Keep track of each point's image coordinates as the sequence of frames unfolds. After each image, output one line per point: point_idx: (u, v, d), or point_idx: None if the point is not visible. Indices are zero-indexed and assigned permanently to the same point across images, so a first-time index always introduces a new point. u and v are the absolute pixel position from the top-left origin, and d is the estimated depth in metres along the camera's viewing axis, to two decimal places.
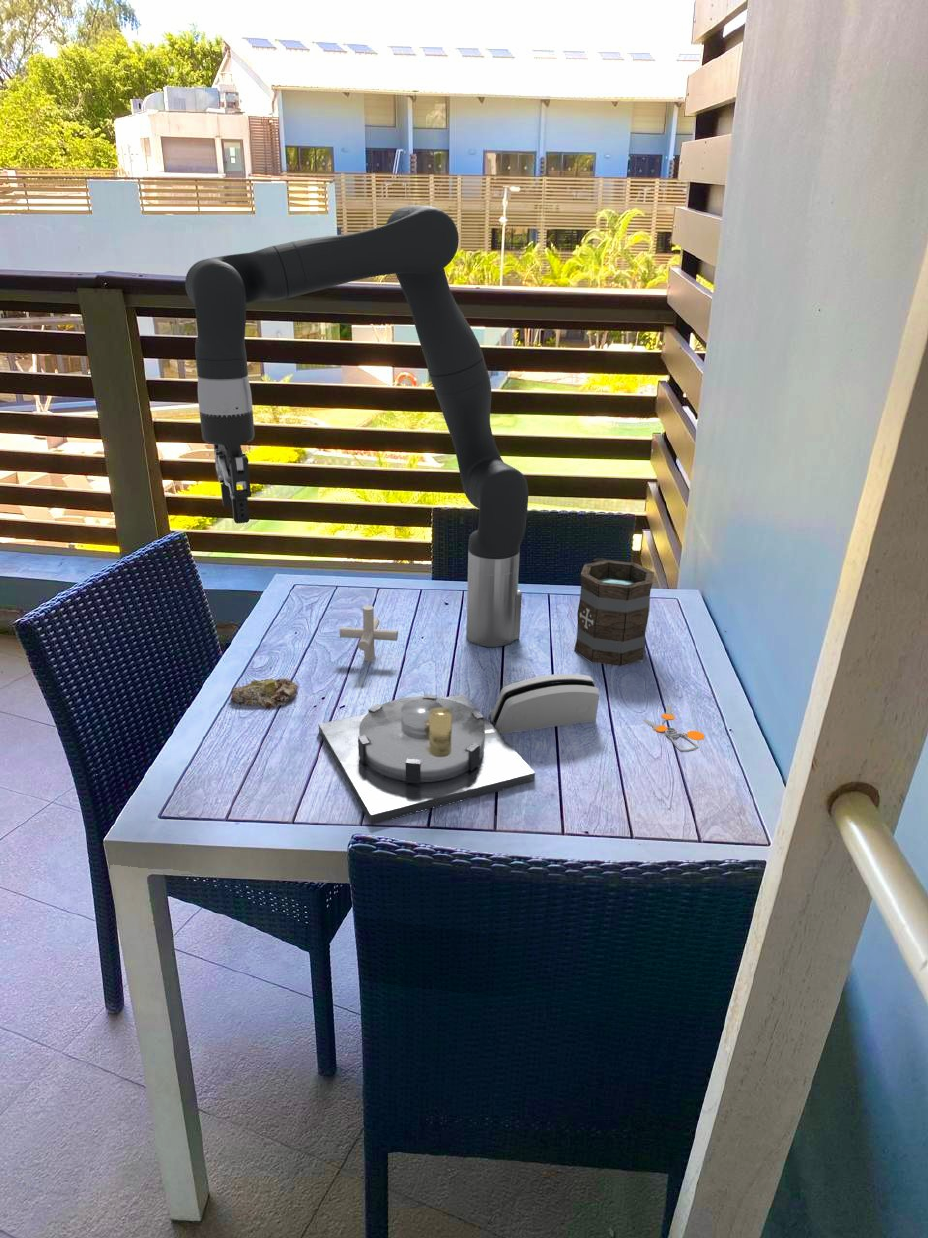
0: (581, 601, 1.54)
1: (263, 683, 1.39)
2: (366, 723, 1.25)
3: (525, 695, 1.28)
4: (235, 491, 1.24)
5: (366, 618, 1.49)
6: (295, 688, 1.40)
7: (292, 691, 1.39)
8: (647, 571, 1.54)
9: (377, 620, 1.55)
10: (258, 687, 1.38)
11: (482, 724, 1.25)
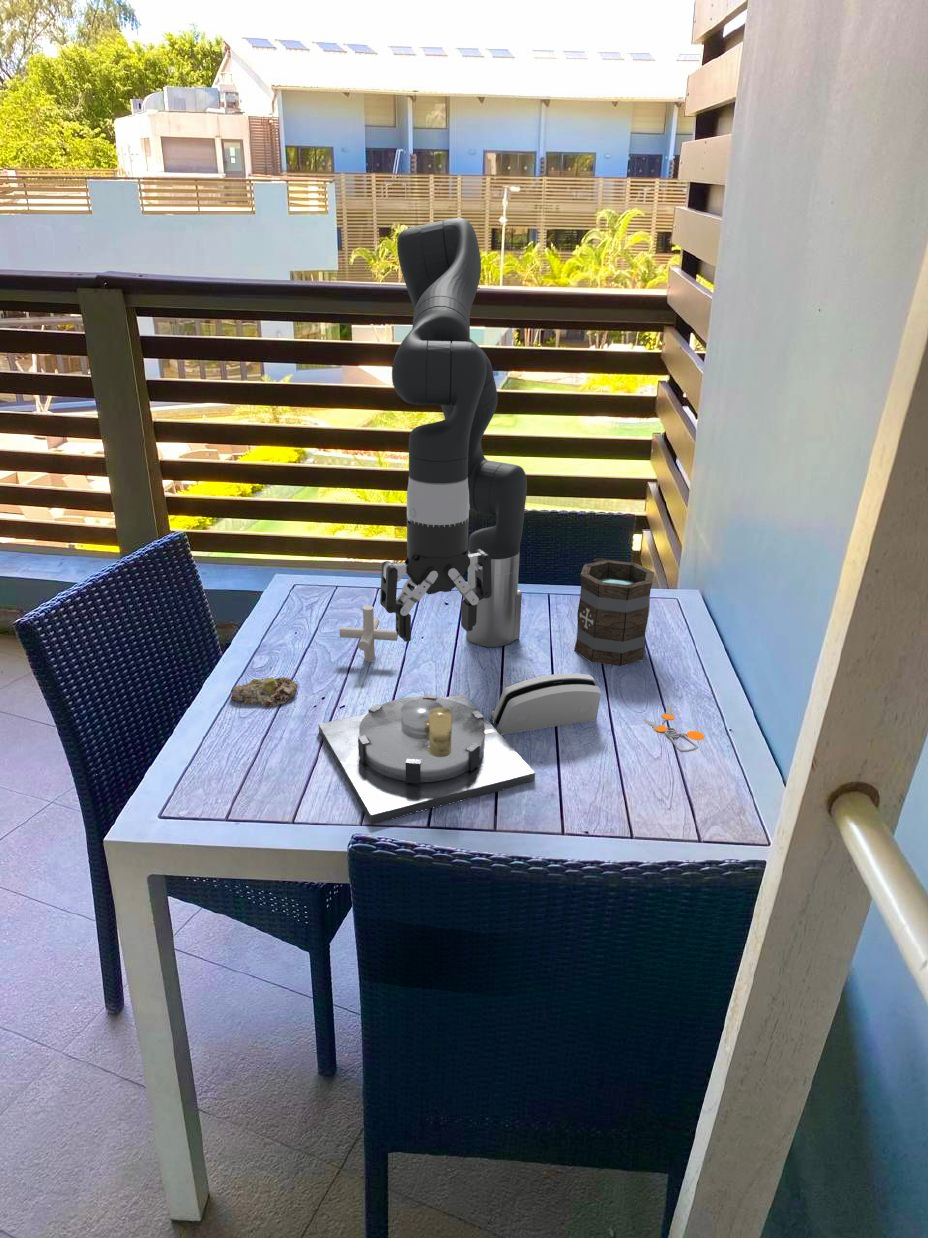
0: (581, 601, 1.54)
1: (263, 682, 1.39)
2: (366, 723, 1.25)
3: (527, 695, 1.28)
4: None
5: (366, 618, 1.49)
6: (295, 687, 1.40)
7: (292, 690, 1.40)
8: (647, 571, 1.54)
9: (377, 620, 1.55)
10: (258, 686, 1.39)
11: (482, 724, 1.25)
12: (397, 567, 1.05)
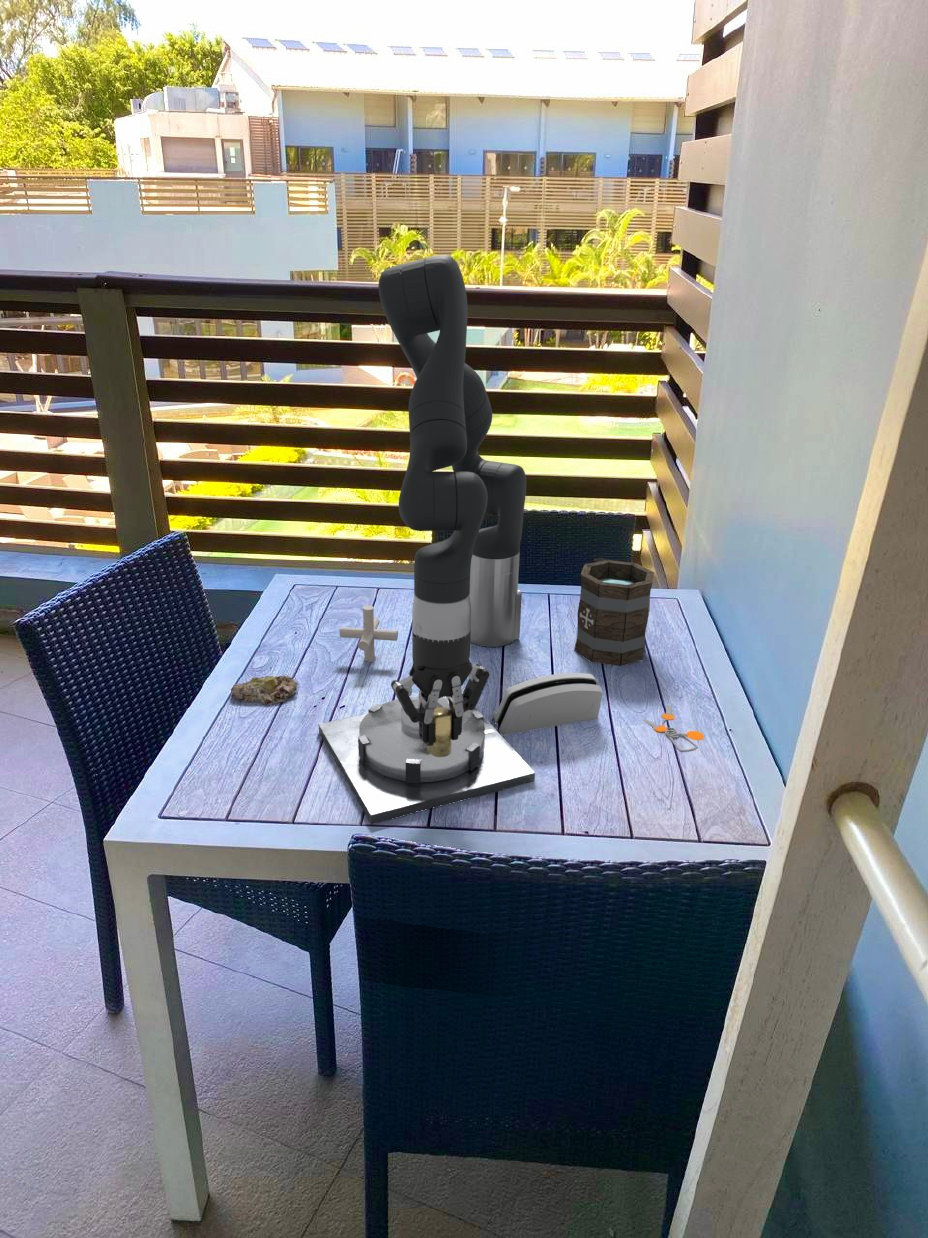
0: (581, 601, 1.54)
1: (263, 680, 1.40)
2: (366, 723, 1.25)
3: (530, 695, 1.28)
4: None
5: (366, 618, 1.49)
6: (295, 685, 1.41)
7: (292, 688, 1.40)
8: (647, 571, 1.54)
9: (377, 620, 1.55)
10: (258, 684, 1.39)
11: (482, 724, 1.25)
12: (404, 684, 1.11)
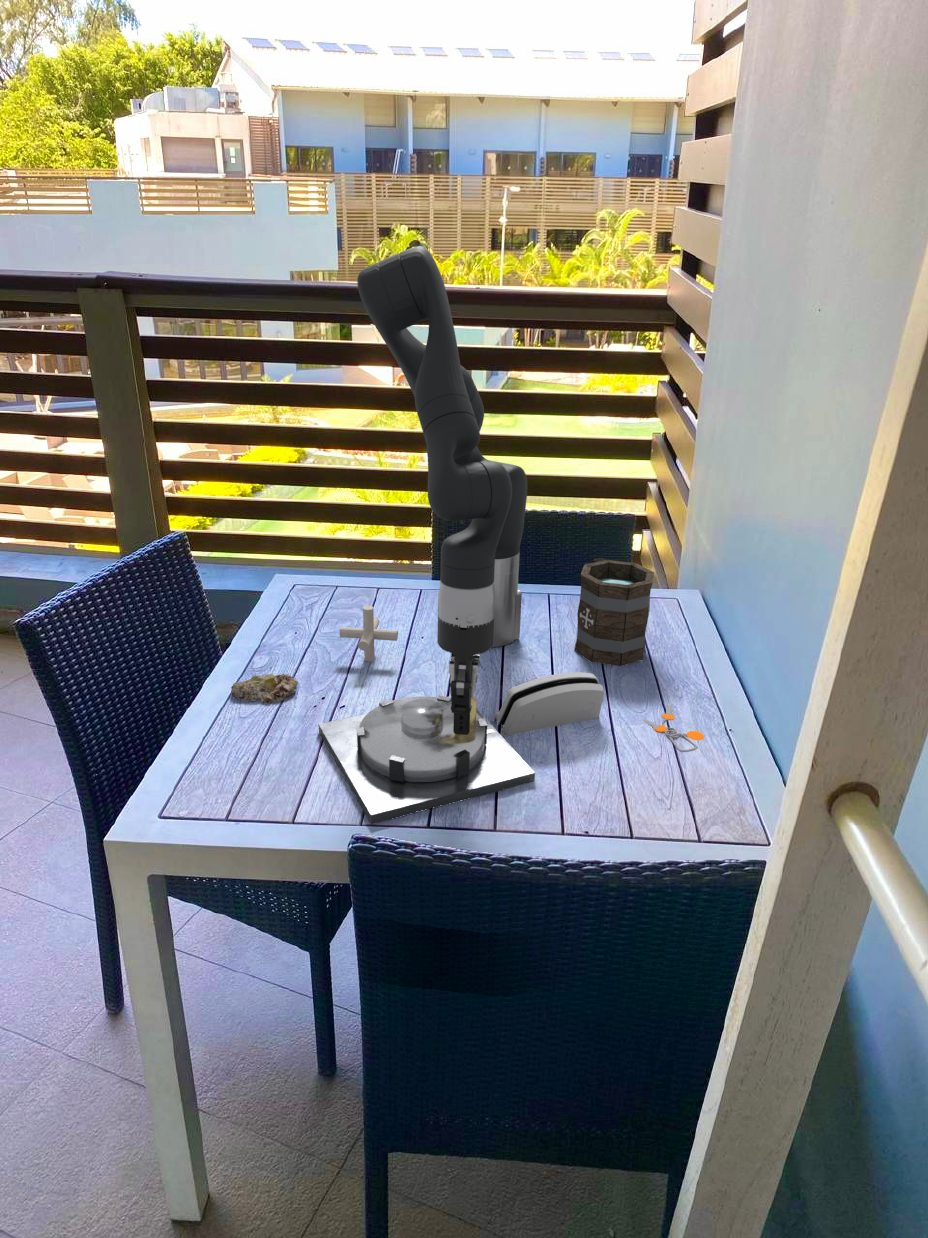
0: (581, 601, 1.54)
1: (263, 678, 1.40)
2: (375, 746, 1.19)
3: (533, 696, 1.28)
4: None
5: (366, 618, 1.49)
6: (295, 684, 1.41)
7: (292, 687, 1.41)
8: (647, 571, 1.54)
9: (377, 620, 1.55)
10: (258, 682, 1.40)
11: None
12: (464, 679, 1.12)
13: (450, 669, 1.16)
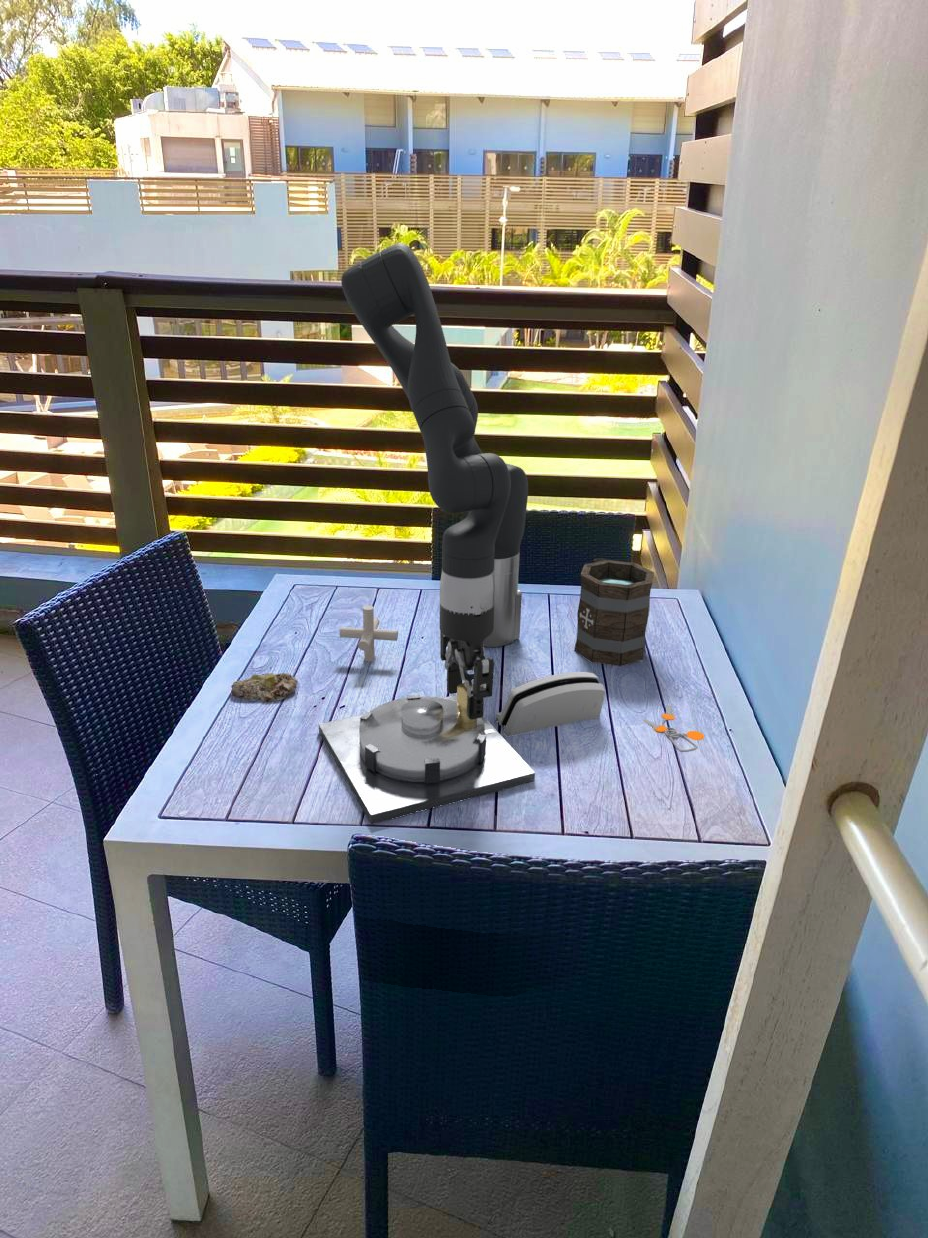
0: (581, 601, 1.54)
1: (263, 677, 1.41)
2: (399, 757, 1.17)
3: (536, 696, 1.28)
4: None
5: (366, 618, 1.49)
6: (295, 683, 1.41)
7: (291, 686, 1.41)
8: (647, 571, 1.54)
9: (377, 620, 1.55)
10: (258, 681, 1.40)
11: (430, 697, 1.32)
12: (484, 658, 1.17)
13: (460, 655, 1.19)
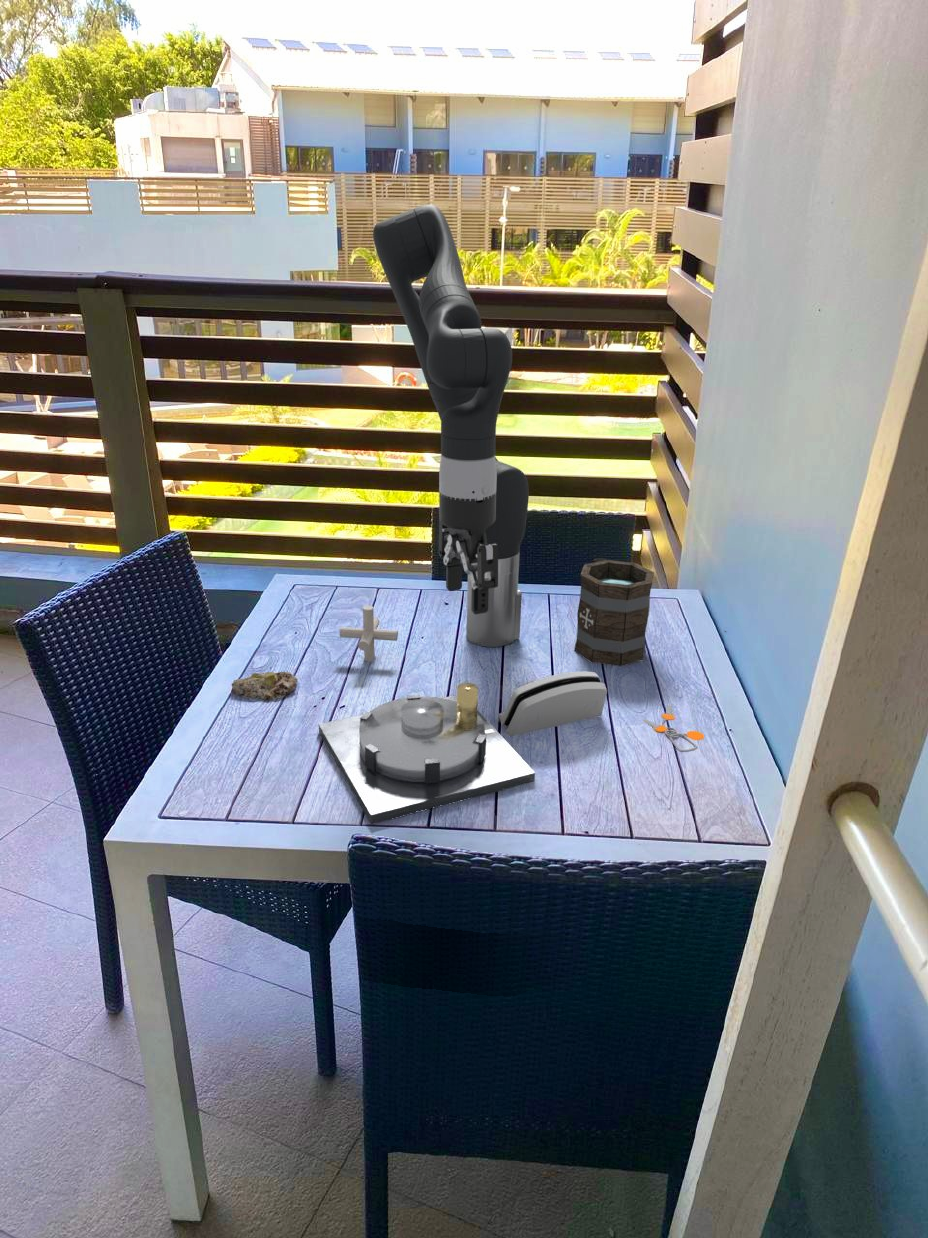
0: (581, 601, 1.54)
1: (263, 676, 1.41)
2: (399, 757, 1.17)
3: (539, 696, 1.28)
4: None
5: (366, 618, 1.49)
6: (294, 681, 1.42)
7: (291, 684, 1.41)
8: (647, 571, 1.54)
9: (377, 620, 1.55)
10: (258, 679, 1.41)
11: (430, 697, 1.32)
12: None
13: (461, 546, 1.14)
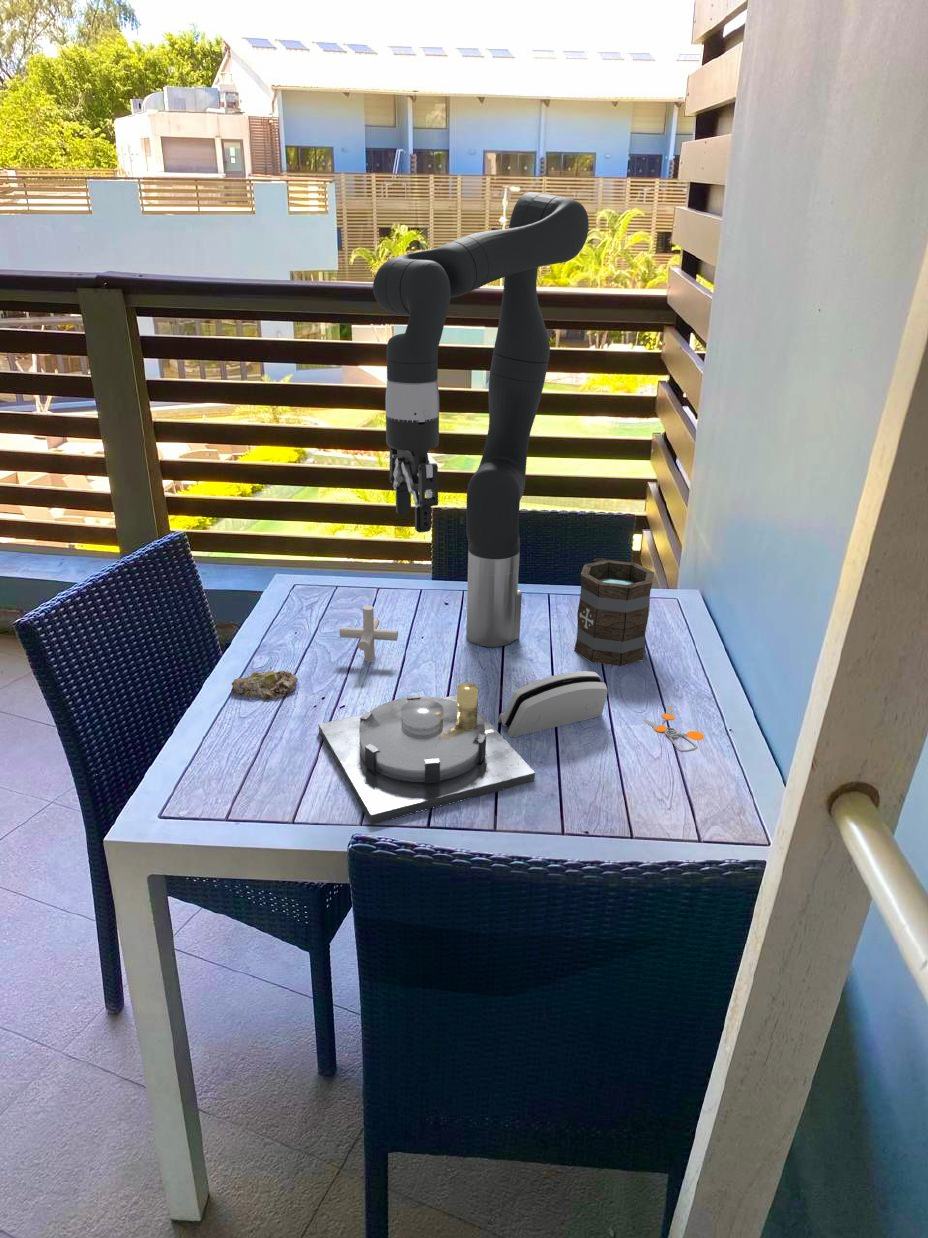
0: (581, 601, 1.54)
1: (263, 675, 1.42)
2: (399, 757, 1.17)
3: (540, 696, 1.28)
4: None
5: (366, 618, 1.49)
6: (294, 681, 1.42)
7: (291, 683, 1.41)
8: (647, 571, 1.54)
9: (377, 620, 1.55)
10: (258, 679, 1.41)
11: (430, 697, 1.32)
12: None
13: (406, 467, 1.22)
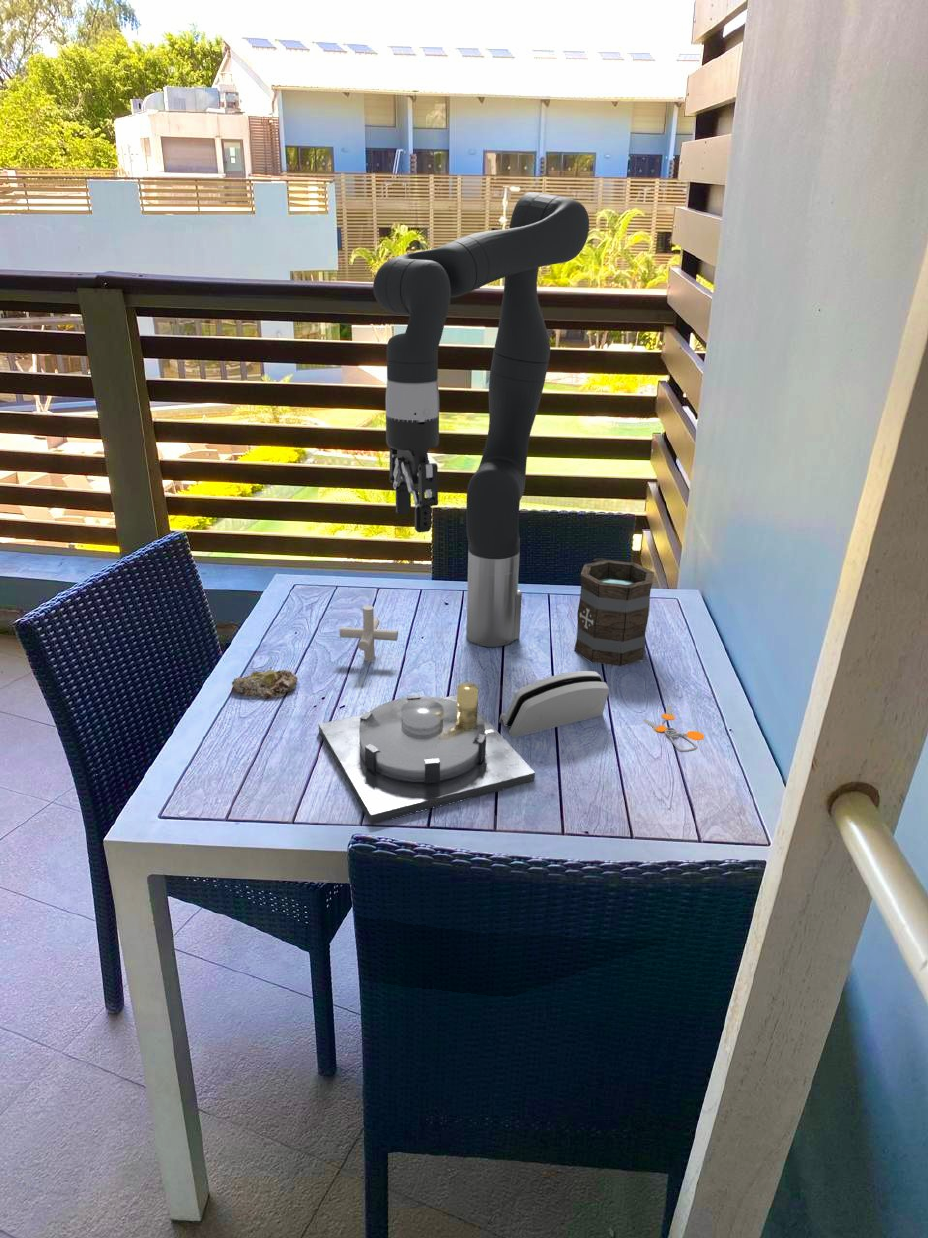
0: (581, 601, 1.54)
1: (263, 674, 1.42)
2: (399, 757, 1.17)
3: (542, 696, 1.28)
4: None
5: (366, 618, 1.49)
6: (294, 680, 1.42)
7: (291, 683, 1.42)
8: (647, 571, 1.54)
9: (377, 620, 1.55)
10: (258, 678, 1.41)
11: (430, 697, 1.32)
12: None
13: (405, 467, 1.22)
